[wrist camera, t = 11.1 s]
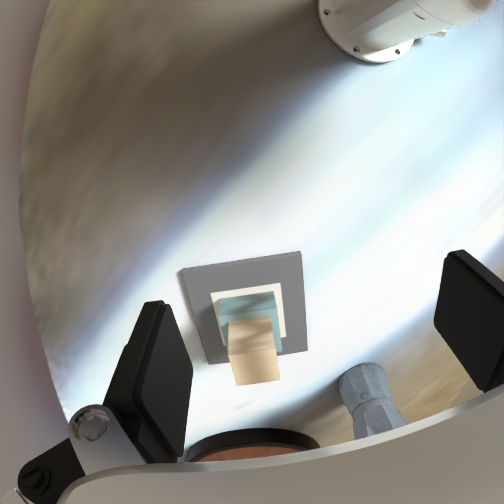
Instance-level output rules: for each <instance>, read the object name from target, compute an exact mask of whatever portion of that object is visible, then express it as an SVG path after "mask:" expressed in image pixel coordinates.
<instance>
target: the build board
mask: <svg viewBox="0 0 504 504" xmlns="http://www.w3.org/2000/svg"><path fill="white" fill-rule="evenodd" d="M182 276H183V280H184V284H185V287H186V291H187V294H188V298H189V301H190V305H191V308H192V312H193V315H194V319H195V322H196V325H197V329H198V332H199V335H200V338H201V342H202V345H203V348H204V351H205V354H206V358H207V361H208V364H209V365H210V364H219V363H228V362H230V360H229V357H228V352H227V348H226V345H225V341H224V337H223V333H222V329H221V325H220V321H219V317H218V315H219V300H220V299H221V298H228V297H235V296H242V295H249V294H255V293H262V292H269V291H274V296H275V301H276V305H277V311H278V319H279V328H280V336H281V344H282V351H281V352H276V354H277V356H279V355H285V354H291V353H297V352H303V351H308V347H307V328H306V311H305V295H304V281H303V268H302V255H301V252H300V251H297V252H290V253H284V254H277V255H271V256H264V257H258V258H251V259H245V260H238V261H231V262H225V263H218V264H211V265H205V266H198V267H191V268H184V269H182Z"/></svg>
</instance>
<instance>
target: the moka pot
mask: <svg viewBox="0 0 504 504" xmlns="http://www.w3.org/2000/svg"><path fill="white" fill-rule="evenodd" d="M338 392H339V394H340V396H341V398H342V400H343V402H344V404H345V405H346V407H347V409H348V411H349V413H350V415H351V417H352V418H353V422H354V424H353V430H354V436H355V440H358V439H362V438H366V437H369V436H373V435H377V434H380V433H383V432H387V431H390V430H393V429H396V428H400V427H403V426H406V425H408V423H407V422H406V420H405V418H404V417H403V415H402V414H401V412H400V411H399V409H398V408H397V406H394V404H393V402H392V397H391V394H390V390H389V387H388V383H387V379H386V376H385V372H384V369H383V368H382V367H380V366H379V365H377V364H375V363H363V364H359V365H357V366H355V367H353V368H351V369H349V370H348V371H347V372H345V373H344V374H343V376H342V377H341V378H340V380H339V382H338Z"/></svg>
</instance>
